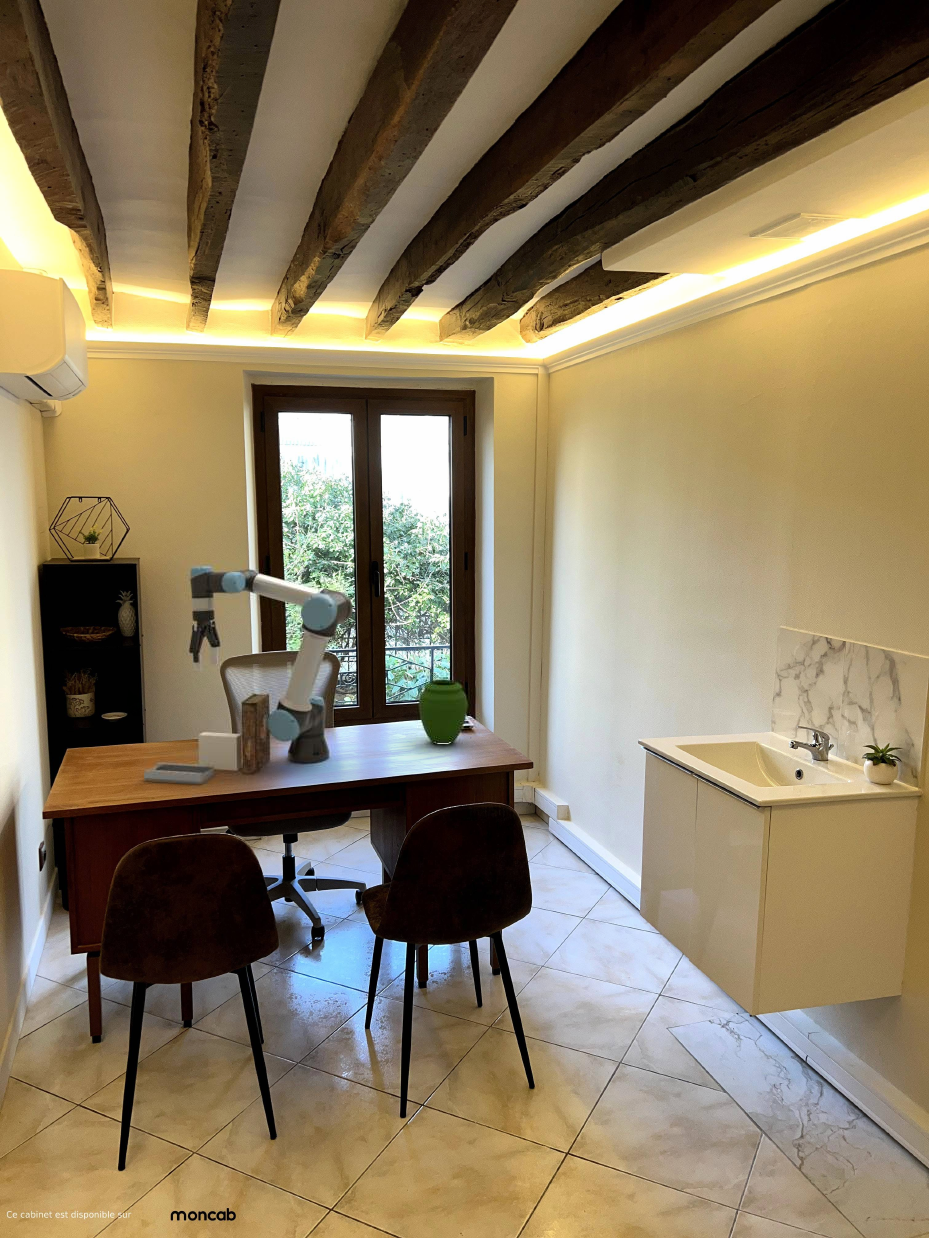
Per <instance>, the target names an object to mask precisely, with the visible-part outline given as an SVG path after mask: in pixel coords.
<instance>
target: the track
mask: <svg viewBox="0 0 929 1238" xmlns="http://www.w3.org/2000/svg"><path fill="white" fill-rule="evenodd" d="M143 773H144V774H143V775H144V776H143V777H144V782H152V783H153V782H154V783H170V784H185V785H199V786H201V785H203V784H205V782H207V781H209V780H210V779H213V777H215V769H214V766H206V765H199V764H189V763H188V764H187V763H173V762H157V763H156V766H155V767H154V768H152V769H145V770H144V772H143Z"/></svg>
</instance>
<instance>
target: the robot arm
mask: <svg viewBox="0 0 929 1238" xmlns="http://www.w3.org/2000/svg"><path fill="white" fill-rule="evenodd" d="M189 572H190V578H189V580H190V589H191V590H190V591H191V600H190V603H191V608H192V609H193V610H192V612H191V613H192V621H194V622H196V624H192V626H191V627H192V628H191V630H192V631H191V637H190V644H189V650H188V652H189V653H190V654H192V664H193V665H192V667H193V672H202V671H203V667H202V666H203V665H202V653H201V649H202V645H203V642H204V638H206V639H207V641H208V643H209V646H210V647H209V661H210V663H209V664H210V666H218V665H219V653H218V648H220V647H221V641H220V637H219V634H218V633H219V632H218V630H217V627H216V621H215V609H214V608H215V601H214V600H215V599H214V594H230V595H232V594H240V593H241V592H249V593H251V594H256V595H260V596H263V597H266V598H270V599H274V600H277V601H281V602H284V603H287V604H291V605H295V606H298V607H301V609H300V617H301V618H300V619H302V623H301V629H302V631H303V636H302V640H301V642H300V646H299V649H298V653H297V655H296V659H295V662H294V666H293V668H292V669H293V670H292V671H291V675H290V679H289V682H288V685H287V688H286V692H285V694H284V695H282V696H280V697H279V699H278V702H277V706H276V708H275V710H274V711H272V712H271V713H270V716H269V718H268V729H269V731H270V735H272V737H273V738H274V739H276V740H277V741H280V742H284V743H287V742H290V743H289V747H288V750H287V759H288V761H290V762H294V763H298V764H310V763H311V764H312V763H319V762H324V761H326V760H328V759H329V758H330V750H329V749H330V748H329V746H328V743H327V740H326V736H325V708H326V706H325V700H324V698H323V697H322V696H317V695H312V694H313V691H314V688H315V685H316V681H317V678H318V675H319V672H320V668H321V665H322V662H323V659H324V656H325V653H326V649H327V646H328V642H329V640H330V639H333V638H334V637H335V635H336V633H337V630H338V626H339V625H341V624H343V623H345V622H347V621H348V620H349V619H350V617H351V616H352V613H353V604H352V603H353V602H352V601H351V599H350V598H349V596H348V595H347V594H345V593H344V592H341V591H337V590H332V589H329V588H322V589H317V588H314V587H311V586H307V585H303V584H298V583H296V582H291V581H288V580H286V579H285V580H284V579H280V578H277V577H273V576H270V575H265V574H263V573H259V571H257V570H256V569H249V568H247V569H241V570H232V571H216V572H215V571H213V567H212V566H210V565H209V566H207V565H206V566H205V565H203V566H200V565H199V566H192V567H191V568H190V571H189Z"/></svg>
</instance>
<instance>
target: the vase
mask: <svg viewBox="0 0 929 1238" xmlns="http://www.w3.org/2000/svg"><path fill="white" fill-rule="evenodd" d="M468 707H469V704H468V699H467V695H466V693H465V691H463V686H462V685H461V683H459V682H458V681H455V680H451V679H435V680H431V681H429V682H428V683H427V684H425V685H424V690H423V691H422V692H421V693H420V696H419V700H418V709H419V717H420V722H421V724H422V727H423V730H424V732H425V734H426V736H427V738H428V739H429V740H430V742H431V743H433V742H436V743H449V742H453V741H454V742H455V741H456V740H457V739H458V737H459V736H460V734H461V732H462V730H463V727H464V725H465V721H466V717H467V712H468ZM454 742H453V743H454Z"/></svg>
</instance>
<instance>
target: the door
mask: <svg viewBox="0 0 929 1238" xmlns="http://www.w3.org/2000/svg"><path fill="white" fill-rule="evenodd" d="M198 765H206V766H214V770H218V771H219V770H221V771H222V770H223V771H236V772H237V771H238V770H240V769H241V768H243V757H242V733H240V734H239V733H226V732H225V733H223V732H210V731H209V732H208V731H207V732H206V731H204V732H201V733H200V734H198Z"/></svg>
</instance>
